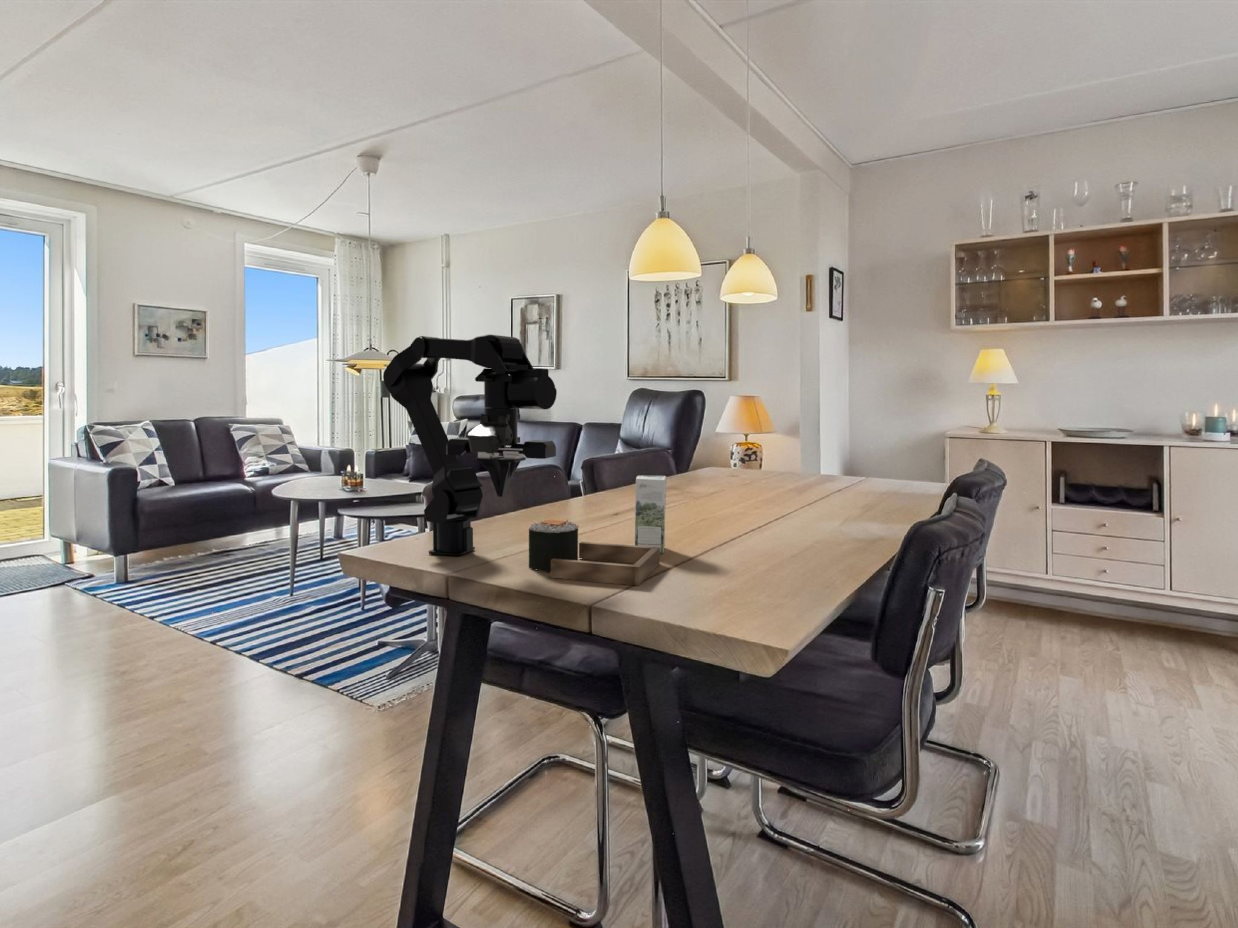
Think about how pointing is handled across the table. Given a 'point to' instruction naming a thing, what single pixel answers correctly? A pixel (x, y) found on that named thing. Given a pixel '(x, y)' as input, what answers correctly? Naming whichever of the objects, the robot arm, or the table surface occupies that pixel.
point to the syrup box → (650, 511)
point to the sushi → (552, 543)
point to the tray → (608, 572)
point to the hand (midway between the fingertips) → (501, 496)
